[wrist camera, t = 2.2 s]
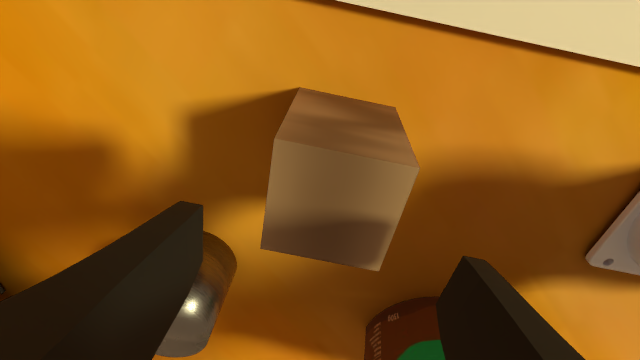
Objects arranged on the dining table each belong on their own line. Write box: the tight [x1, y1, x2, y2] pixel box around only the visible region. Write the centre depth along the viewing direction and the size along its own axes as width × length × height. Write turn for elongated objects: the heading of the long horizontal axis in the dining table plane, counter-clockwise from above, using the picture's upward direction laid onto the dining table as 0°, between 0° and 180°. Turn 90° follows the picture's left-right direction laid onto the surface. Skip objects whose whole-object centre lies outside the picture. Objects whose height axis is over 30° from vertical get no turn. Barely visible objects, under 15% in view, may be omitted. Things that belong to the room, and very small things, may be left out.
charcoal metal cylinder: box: [155, 231, 237, 357], centre depth 19 cm, size 5×5×5 cm
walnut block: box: [260, 88, 420, 271], centre depth 13 cm, size 4×4×6 cm
